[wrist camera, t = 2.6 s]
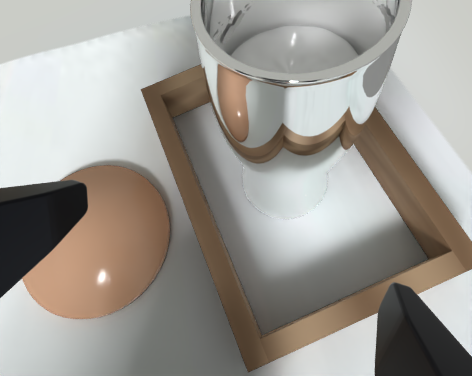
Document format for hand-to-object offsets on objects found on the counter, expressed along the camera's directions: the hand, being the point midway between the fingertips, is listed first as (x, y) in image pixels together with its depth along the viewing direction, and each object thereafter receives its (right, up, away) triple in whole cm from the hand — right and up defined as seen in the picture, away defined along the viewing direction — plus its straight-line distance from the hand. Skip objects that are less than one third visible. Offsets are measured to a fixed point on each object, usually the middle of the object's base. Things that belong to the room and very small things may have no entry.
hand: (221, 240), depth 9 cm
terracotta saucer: (-10, -2, +15) cm, 18 cm away
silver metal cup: (+4, +2, +15) cm, 15 cm away
